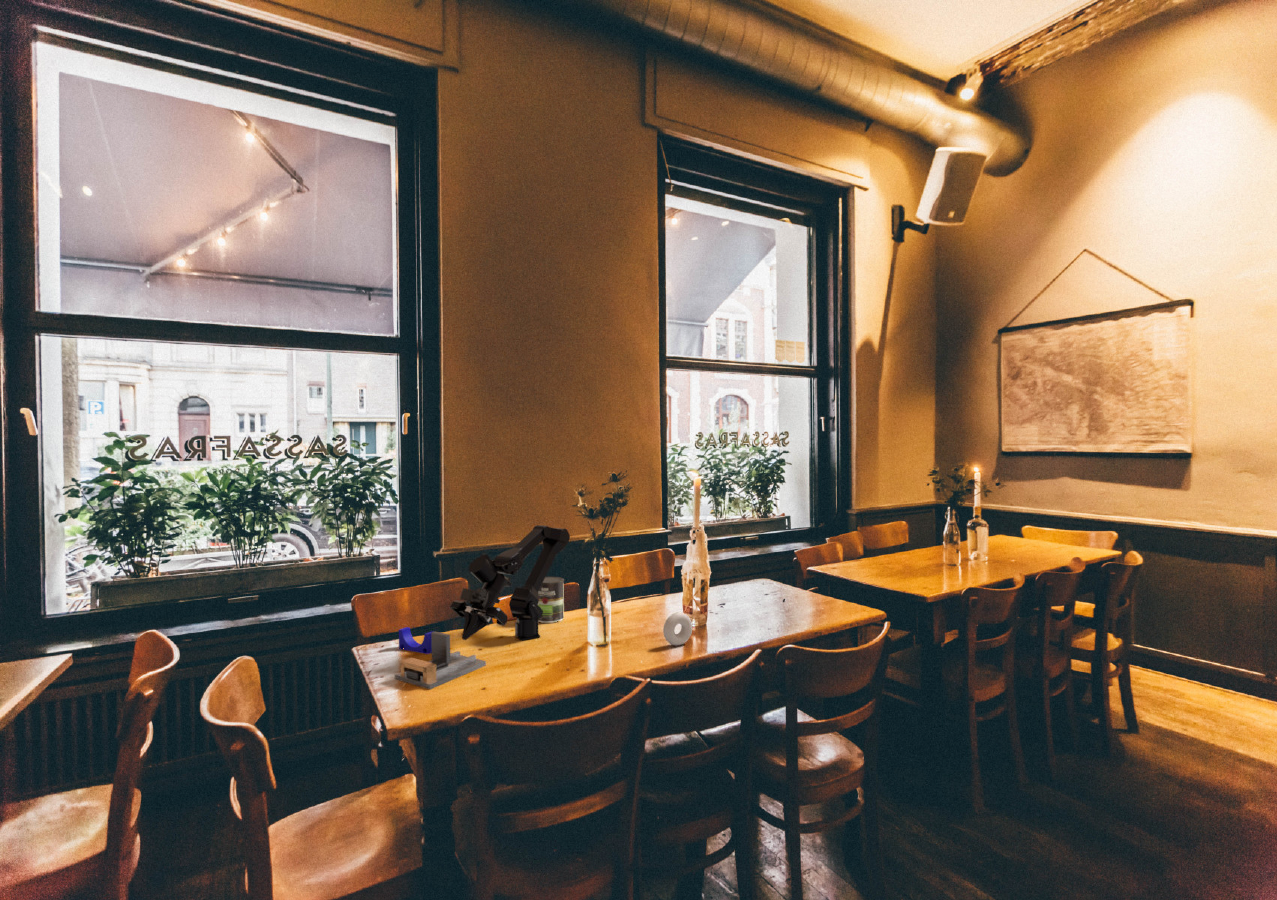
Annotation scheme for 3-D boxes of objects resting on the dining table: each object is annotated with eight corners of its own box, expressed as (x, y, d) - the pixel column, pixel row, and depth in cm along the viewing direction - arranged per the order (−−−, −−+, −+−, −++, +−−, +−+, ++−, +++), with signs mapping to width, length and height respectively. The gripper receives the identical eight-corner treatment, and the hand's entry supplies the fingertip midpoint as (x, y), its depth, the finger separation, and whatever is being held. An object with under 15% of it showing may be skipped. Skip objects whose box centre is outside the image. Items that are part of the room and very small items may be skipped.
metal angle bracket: (435, 664, 164) (434, 631, 164) (450, 667, 161) (449, 634, 161) (404, 676, 156) (403, 641, 156) (419, 680, 153) (418, 645, 153)
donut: (667, 649, 178) (666, 616, 177) (661, 646, 180) (660, 613, 180) (694, 643, 183) (694, 611, 182) (688, 640, 186) (687, 608, 185)
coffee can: (559, 624, 205) (558, 583, 205) (530, 623, 207) (530, 582, 207) (568, 615, 216) (567, 576, 216) (540, 614, 217) (540, 576, 217)
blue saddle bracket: (439, 650, 181) (439, 630, 181) (428, 654, 177) (428, 634, 177) (410, 645, 186) (410, 625, 186) (399, 649, 182) (398, 629, 182)
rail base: (451, 656, 174) (451, 639, 174) (485, 665, 167) (485, 647, 167) (394, 678, 158) (394, 660, 158) (430, 689, 151) (429, 669, 151)
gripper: (453, 573, 178) (424, 620, 169) (499, 579, 169) (470, 629, 159) (474, 593, 185) (447, 639, 176) (519, 600, 175) (493, 649, 166)
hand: (463, 639), depth 169 cm, fingers closed
